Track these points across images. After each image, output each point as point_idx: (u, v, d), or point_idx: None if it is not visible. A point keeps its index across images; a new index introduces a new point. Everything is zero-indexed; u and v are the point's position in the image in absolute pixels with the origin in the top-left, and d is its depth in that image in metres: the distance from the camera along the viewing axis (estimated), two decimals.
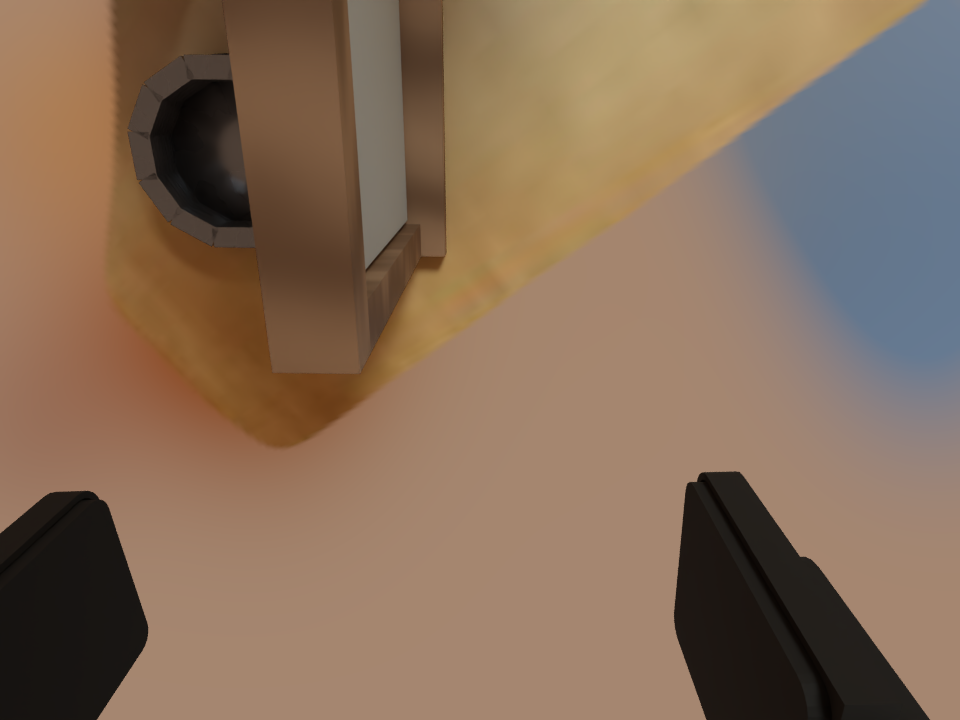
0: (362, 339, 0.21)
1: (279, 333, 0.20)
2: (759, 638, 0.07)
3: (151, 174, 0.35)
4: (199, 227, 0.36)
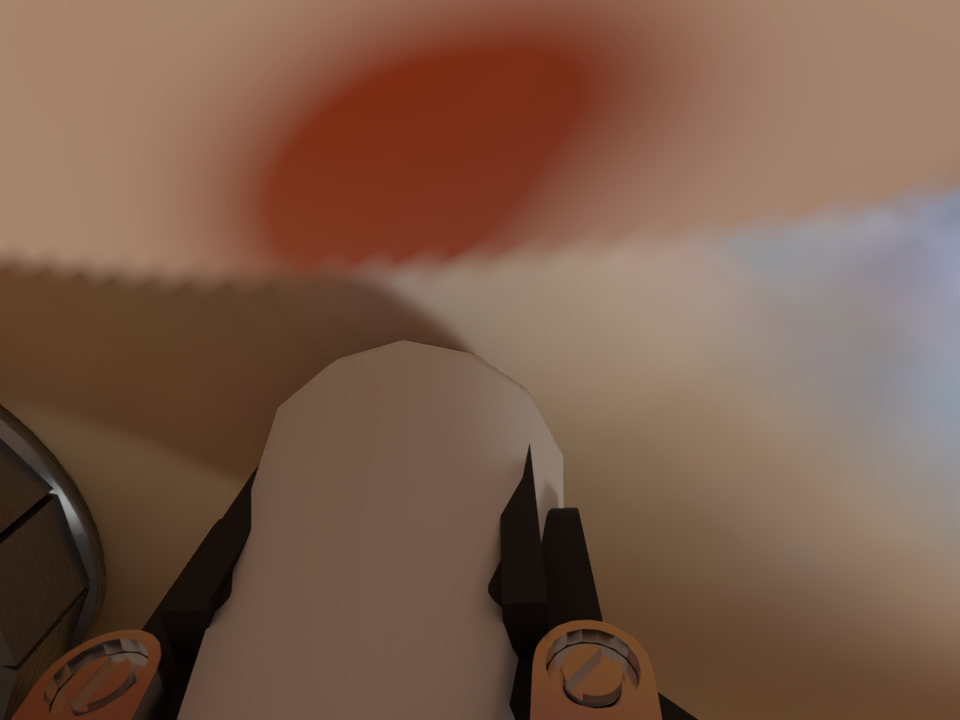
0: None
1: None
2: None
3: None
4: None
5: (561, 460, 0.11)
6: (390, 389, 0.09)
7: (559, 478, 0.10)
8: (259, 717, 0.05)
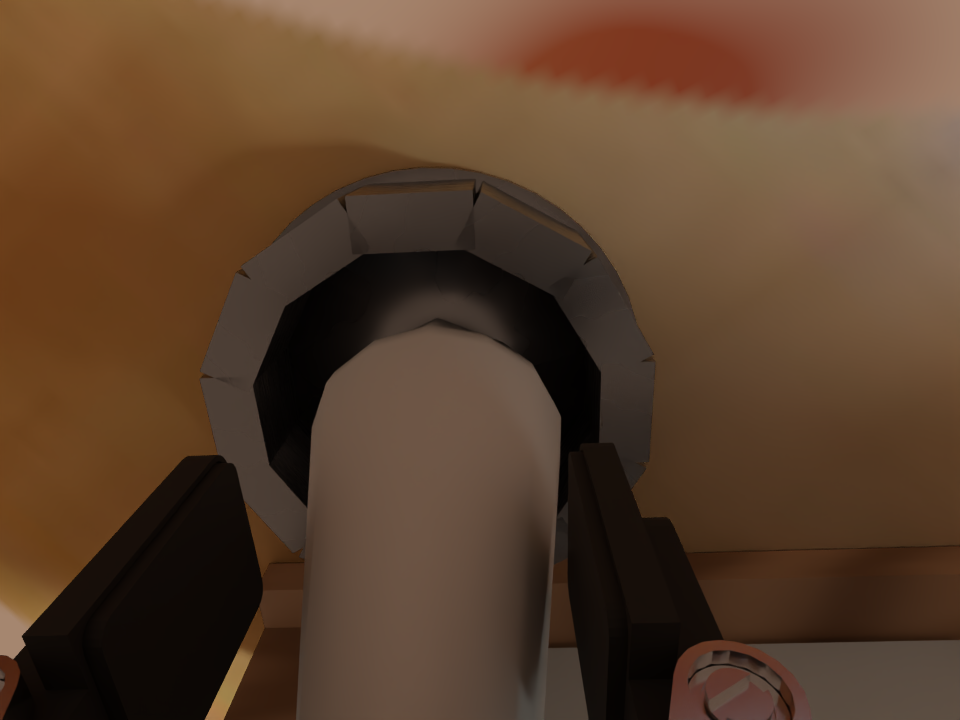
0: None
1: None
2: (593, 579, 0.07)
3: (364, 236, 0.13)
4: (243, 347, 0.13)
5: (559, 420, 0.13)
6: (425, 376, 0.12)
7: (558, 437, 0.13)
8: (369, 630, 0.08)
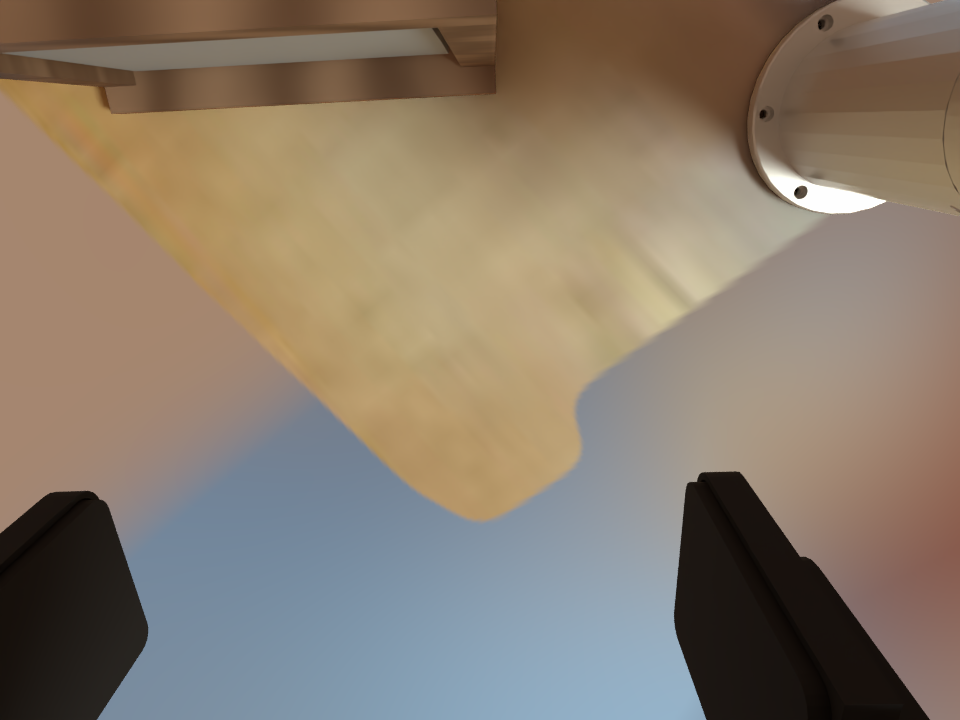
0: None
1: None
2: (759, 638, 0.07)
3: None
4: None
5: None
6: None
7: None
8: None
